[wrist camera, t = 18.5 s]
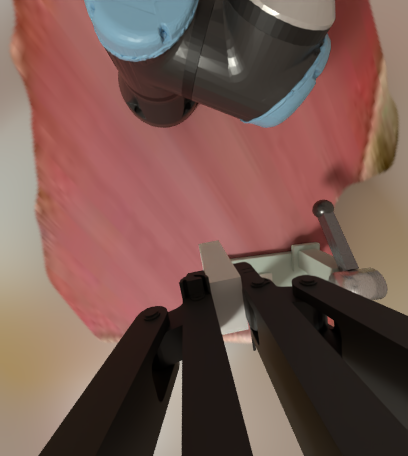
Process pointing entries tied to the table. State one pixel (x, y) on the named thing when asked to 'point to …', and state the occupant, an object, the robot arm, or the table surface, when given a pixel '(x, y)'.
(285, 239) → the table surface
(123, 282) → the table surface
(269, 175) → the table surface
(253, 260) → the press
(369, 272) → the lever
